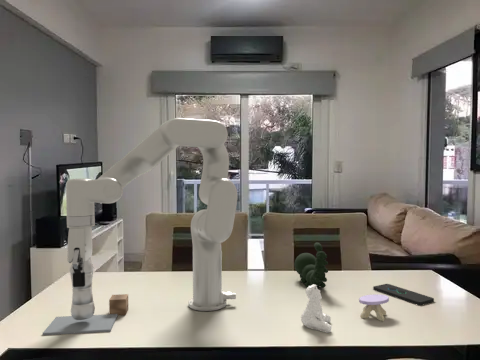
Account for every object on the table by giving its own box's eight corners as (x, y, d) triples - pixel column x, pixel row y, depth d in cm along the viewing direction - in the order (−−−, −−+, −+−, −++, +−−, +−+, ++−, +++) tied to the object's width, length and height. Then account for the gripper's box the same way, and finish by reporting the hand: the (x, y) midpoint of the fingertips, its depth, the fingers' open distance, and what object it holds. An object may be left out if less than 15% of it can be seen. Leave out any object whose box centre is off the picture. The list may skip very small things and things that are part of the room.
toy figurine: (333, 297, 149) (310, 273, 173) (335, 246, 146) (312, 229, 171) (308, 298, 147) (288, 274, 172) (310, 247, 145) (290, 230, 169)
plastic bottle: (99, 315, 121) (98, 248, 120) (84, 324, 115) (82, 253, 114) (82, 313, 123) (80, 247, 123) (65, 321, 117) (64, 252, 116)
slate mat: (117, 315, 126) (117, 313, 126) (110, 331, 114) (110, 329, 114) (56, 318, 124) (56, 316, 124) (42, 335, 112) (42, 333, 112)
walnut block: (128, 309, 132) (128, 294, 132) (126, 315, 127) (125, 299, 127) (112, 310, 131) (112, 294, 131) (109, 315, 126) (109, 299, 126)
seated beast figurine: (331, 333, 113) (332, 290, 112) (300, 331, 114) (300, 289, 114) (330, 320, 122) (330, 281, 121) (301, 319, 123) (301, 279, 123)
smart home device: (387, 283, 156) (435, 297, 139) (387, 287, 156) (435, 302, 139) (372, 286, 152) (419, 301, 135) (372, 290, 152) (419, 307, 135)
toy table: (381, 310, 131) (381, 292, 131) (396, 320, 122) (396, 301, 122) (352, 312, 129) (352, 294, 129) (365, 322, 121) (365, 303, 120)
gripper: (75, 217, 126) (76, 275, 127) (58, 226, 109) (59, 292, 109) (100, 217, 127) (101, 274, 128) (87, 225, 110) (88, 291, 110)
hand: (82, 282), depth 119 cm, fingers closed on plastic bottle, 6 cm apart
